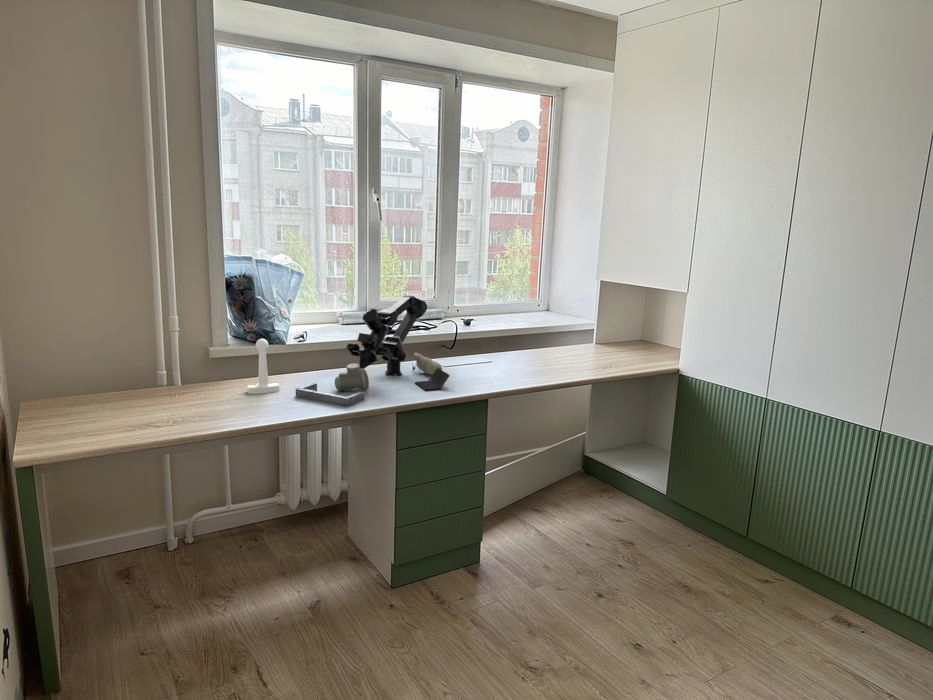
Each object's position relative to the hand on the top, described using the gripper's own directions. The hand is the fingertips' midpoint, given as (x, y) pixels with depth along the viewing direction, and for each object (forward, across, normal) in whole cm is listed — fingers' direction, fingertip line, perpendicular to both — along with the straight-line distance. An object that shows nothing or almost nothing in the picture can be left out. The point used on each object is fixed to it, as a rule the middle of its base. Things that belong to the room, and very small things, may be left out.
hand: (360, 369), depth 242 cm
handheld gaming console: (-6, +23, +16) cm, 29 cm away
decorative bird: (-17, +12, +27) cm, 34 cm away
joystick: (+22, -27, -12) cm, 37 cm away
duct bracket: (+18, 0, -8) cm, 20 cm away
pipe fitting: (+9, 0, +1) cm, 9 cm away
